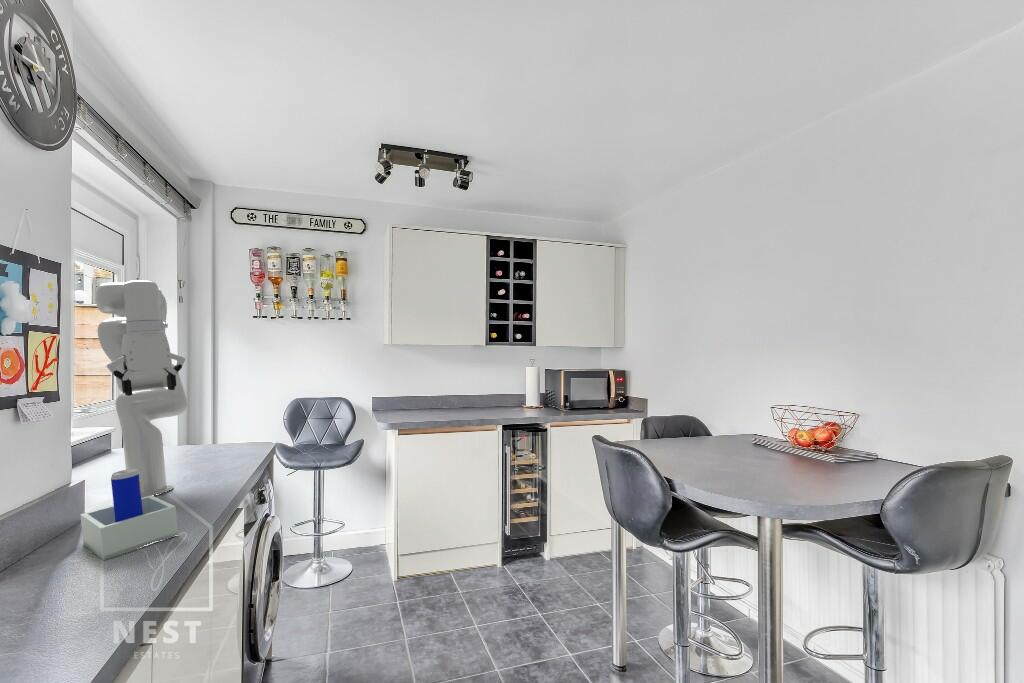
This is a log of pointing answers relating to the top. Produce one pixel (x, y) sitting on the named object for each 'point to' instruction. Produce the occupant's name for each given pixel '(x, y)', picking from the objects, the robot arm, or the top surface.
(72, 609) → the top surface
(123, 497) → the beverage can
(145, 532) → the crate
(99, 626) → the top surface
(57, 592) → the top surface
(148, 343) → the robot arm
